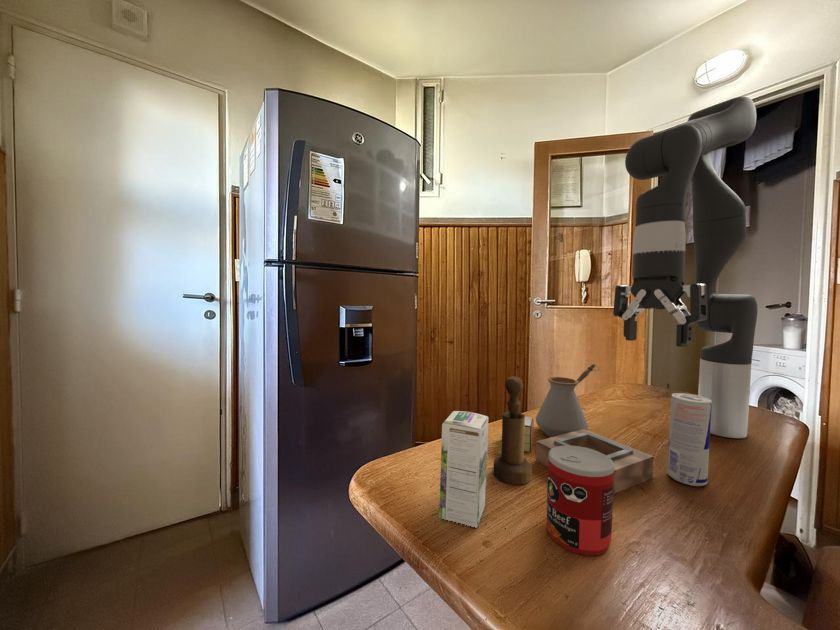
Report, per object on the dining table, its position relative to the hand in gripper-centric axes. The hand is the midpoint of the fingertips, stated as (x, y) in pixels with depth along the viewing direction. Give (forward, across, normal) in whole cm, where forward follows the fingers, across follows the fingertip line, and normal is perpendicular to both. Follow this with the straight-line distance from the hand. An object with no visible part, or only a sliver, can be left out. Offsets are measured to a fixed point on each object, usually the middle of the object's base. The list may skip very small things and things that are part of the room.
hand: (654, 343), depth 61 cm
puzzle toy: (+24, +20, +13) cm, 34 cm away
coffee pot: (+25, +21, -5) cm, 33 cm away
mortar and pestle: (+24, +11, +23) cm, 35 cm away
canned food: (+24, -5, +26) cm, 36 cm away
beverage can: (+24, -4, -4) cm, 25 cm away
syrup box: (+24, +5, +37) cm, 44 cm away
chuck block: (+24, +6, +8) cm, 26 cm away
